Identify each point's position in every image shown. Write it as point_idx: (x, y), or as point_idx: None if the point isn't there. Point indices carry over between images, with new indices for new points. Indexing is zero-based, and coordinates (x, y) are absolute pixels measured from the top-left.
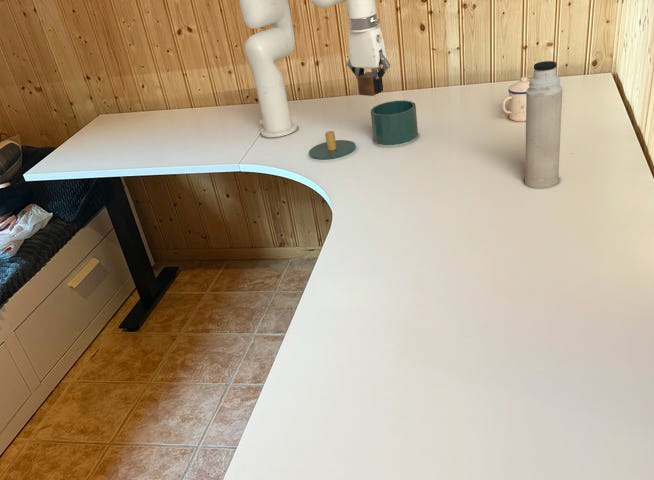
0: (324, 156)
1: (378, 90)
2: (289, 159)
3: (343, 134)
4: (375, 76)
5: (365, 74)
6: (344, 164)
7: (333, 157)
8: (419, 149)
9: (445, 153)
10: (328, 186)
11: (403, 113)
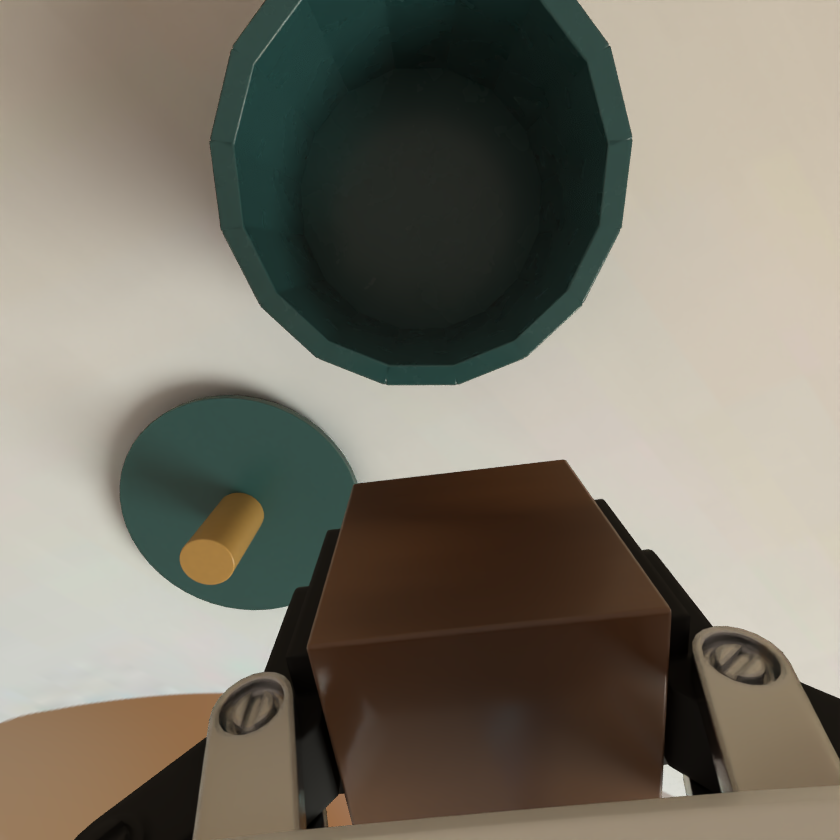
0: (292, 589)
1: None
2: (134, 630)
3: (55, 288)
4: (705, 793)
5: (409, 765)
6: None
7: None
8: (661, 286)
9: (836, 272)
10: None
11: (604, 259)
